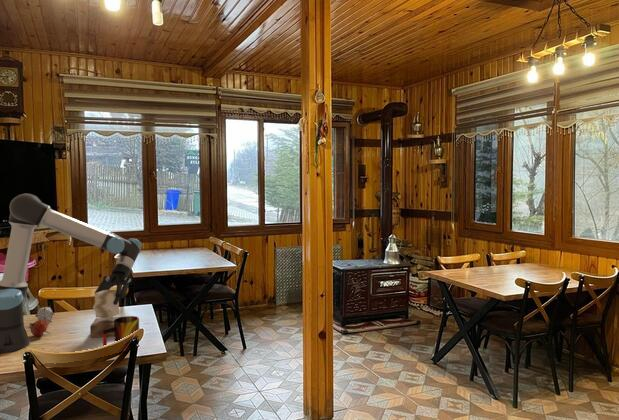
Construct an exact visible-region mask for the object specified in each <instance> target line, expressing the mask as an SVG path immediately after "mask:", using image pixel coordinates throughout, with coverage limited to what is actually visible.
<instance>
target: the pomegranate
mask: <svg viewBox="0 0 619 420" xmlns="http://www.w3.org/2000/svg"><path fill="white" fill-rule="evenodd" d="M29 325H31V326H30V332H31V334H32V335H33V336H34V337H36V338H37V337H38V338H40V337H42V336H43V335H44V333H48V334H50V335H51V332H49V331H47V330H48V327H49V321H48V322H47V321H45V320H38V319H37V320H36V321H35V322H33V323H29Z"/></svg>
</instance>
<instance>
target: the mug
mask: <svg viewBox="0 0 619 420" xmlns="http://www.w3.org/2000/svg"><path fill="white" fill-rule="evenodd" d="M119 317H120V318H117V319H115V320H114V327H112V328H108V329H104V330H103V338H102V347H103V346H104V345H107V346H108V344H107V338H106V334H107V333H110V332H114V335H115V337H114V342H115V341H118V340H120V339H122V338H124V337H126V336H128V335H130V334H131V333H133V332H134V331H136V330H138V329H139V330H140V317H138V316H135V315H134V316H133V315H130V316H129V315H127V316H123V317H121V316H119Z"/></svg>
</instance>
